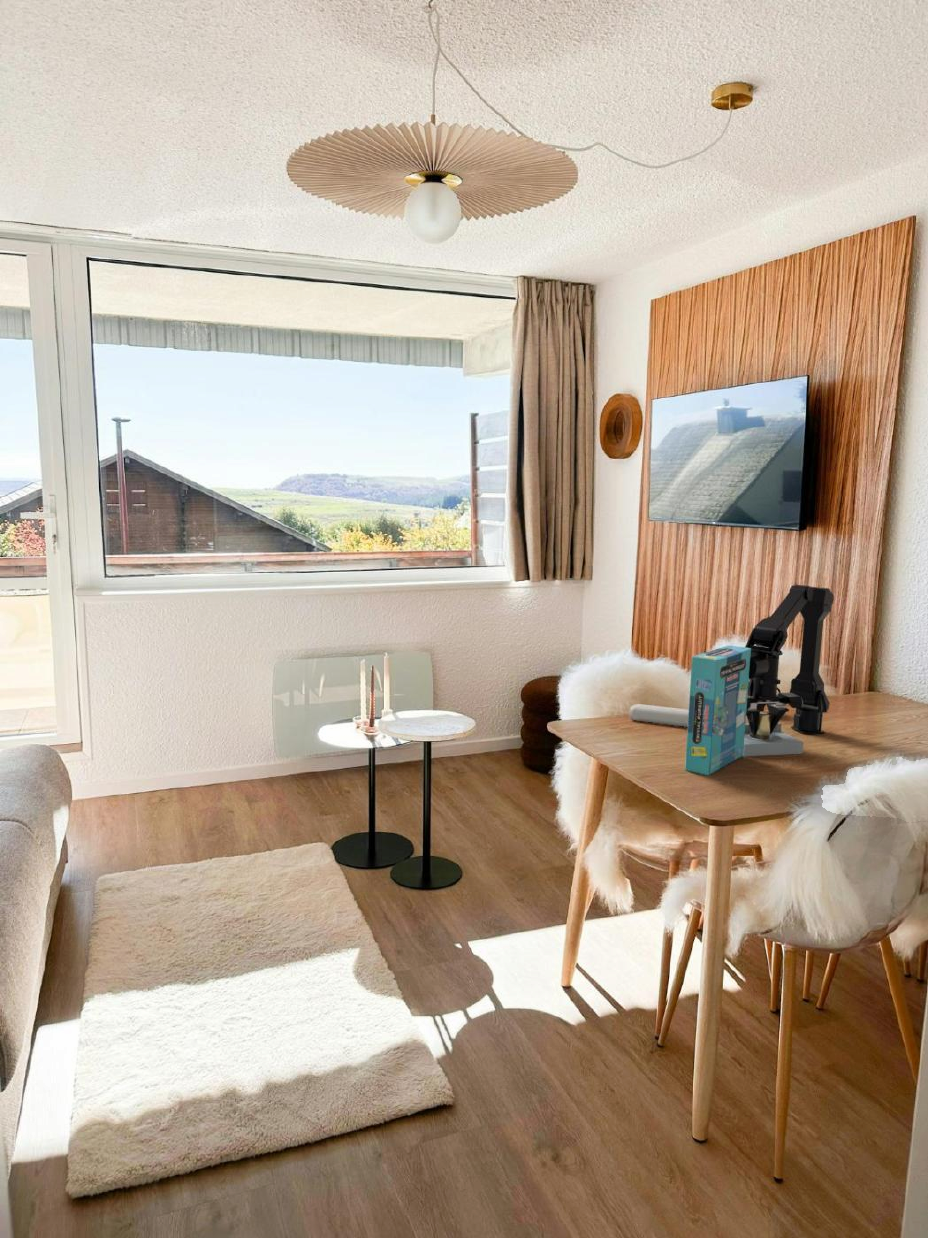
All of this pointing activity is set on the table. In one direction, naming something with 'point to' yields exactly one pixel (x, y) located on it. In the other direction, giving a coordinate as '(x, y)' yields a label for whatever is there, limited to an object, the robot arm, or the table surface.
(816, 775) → the table surface
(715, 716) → the game box
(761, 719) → the brass cylinder
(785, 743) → the jig
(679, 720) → the tube
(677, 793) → the table surface
